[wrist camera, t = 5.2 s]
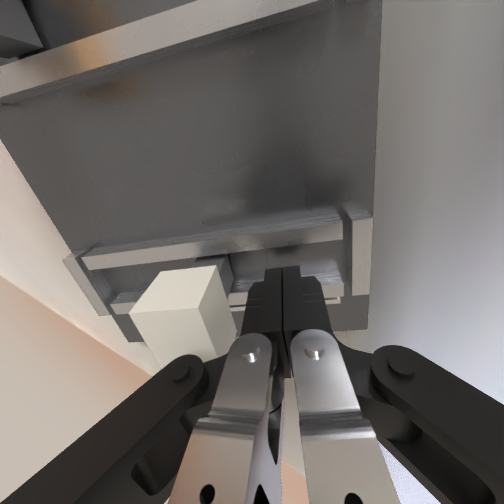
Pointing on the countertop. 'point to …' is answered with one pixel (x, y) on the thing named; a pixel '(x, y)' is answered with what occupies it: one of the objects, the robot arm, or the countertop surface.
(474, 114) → the countertop surface
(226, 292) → the white slider knob
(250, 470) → the robot arm
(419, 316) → the countertop surface
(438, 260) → the countertop surface
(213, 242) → the console
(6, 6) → the fader orange
